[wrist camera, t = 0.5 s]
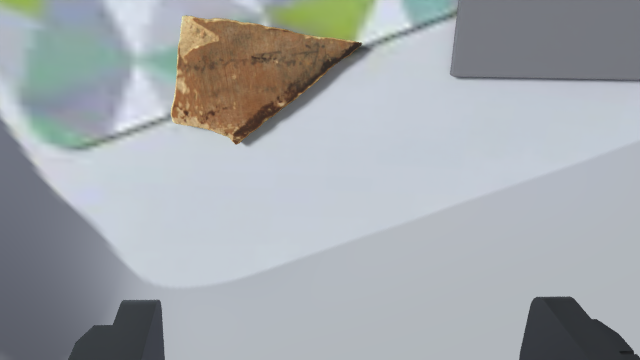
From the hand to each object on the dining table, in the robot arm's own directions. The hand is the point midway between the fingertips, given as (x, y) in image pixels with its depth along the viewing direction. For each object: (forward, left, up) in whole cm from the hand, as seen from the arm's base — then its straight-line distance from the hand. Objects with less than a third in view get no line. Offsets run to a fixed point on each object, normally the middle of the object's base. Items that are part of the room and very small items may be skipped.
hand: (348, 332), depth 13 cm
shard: (-1, -3, -27) cm, 28 cm away
